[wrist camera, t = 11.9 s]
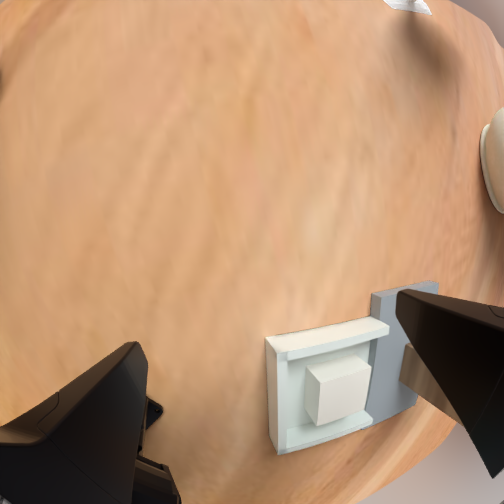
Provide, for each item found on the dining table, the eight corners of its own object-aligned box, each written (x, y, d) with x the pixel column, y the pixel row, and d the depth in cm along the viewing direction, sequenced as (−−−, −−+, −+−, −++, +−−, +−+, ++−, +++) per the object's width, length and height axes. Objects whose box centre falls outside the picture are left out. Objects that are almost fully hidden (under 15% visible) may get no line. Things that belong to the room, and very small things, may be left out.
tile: (304, 408, 23) (316, 426, 20) (305, 365, 23) (320, 382, 20) (348, 394, 24) (364, 409, 21) (353, 353, 24) (371, 366, 21)
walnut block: (398, 380, 25) (496, 449, 10) (405, 344, 24) (519, 407, 9) (425, 367, 26) (518, 422, 11) (432, 333, 25) (537, 382, 10)
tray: (269, 436, 23) (278, 455, 20) (265, 337, 22) (276, 353, 19) (357, 409, 26) (371, 424, 23) (370, 315, 24) (389, 325, 21)
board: (355, 423, 26) (361, 430, 24) (371, 293, 24) (381, 297, 22) (408, 399, 28) (415, 404, 26) (428, 280, 26) (438, 283, 24)
